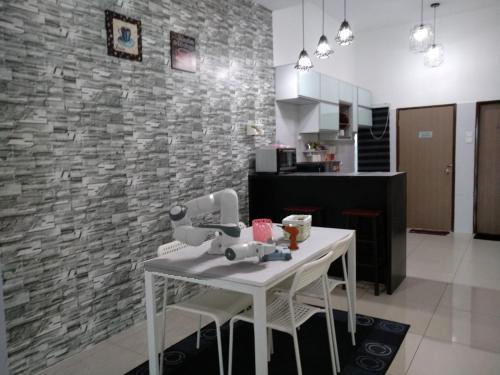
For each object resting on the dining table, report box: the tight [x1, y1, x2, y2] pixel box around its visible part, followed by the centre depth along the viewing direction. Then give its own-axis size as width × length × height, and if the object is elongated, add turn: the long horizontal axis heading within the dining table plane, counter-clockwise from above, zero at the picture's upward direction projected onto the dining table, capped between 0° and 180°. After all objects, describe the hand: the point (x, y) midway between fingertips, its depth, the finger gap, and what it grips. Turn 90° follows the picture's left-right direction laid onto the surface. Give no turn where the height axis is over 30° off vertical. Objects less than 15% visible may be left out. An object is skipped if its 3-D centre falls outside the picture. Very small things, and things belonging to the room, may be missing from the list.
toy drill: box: [276, 224, 300, 251], centre depth 246 cm, size 5×19×15 cm, turn 44°
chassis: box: [259, 247, 293, 262], centre depth 225 cm, size 18×14×4 cm
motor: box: [266, 236, 277, 253], centre depth 225 cm, size 5×5×11 cm
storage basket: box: [281, 214, 312, 242], centre depth 273 cm, size 24×16×15 cm
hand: (269, 244), depth 223 cm, fingers open, 8 cm apart
